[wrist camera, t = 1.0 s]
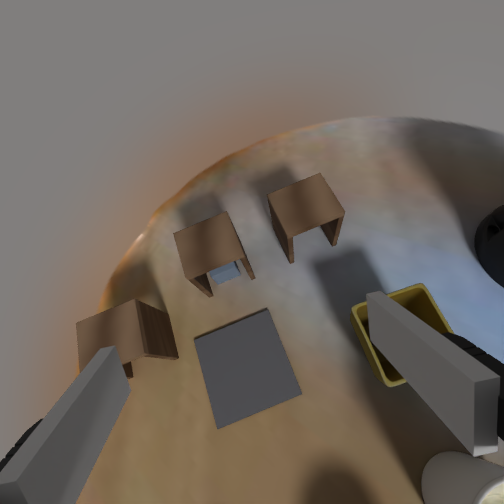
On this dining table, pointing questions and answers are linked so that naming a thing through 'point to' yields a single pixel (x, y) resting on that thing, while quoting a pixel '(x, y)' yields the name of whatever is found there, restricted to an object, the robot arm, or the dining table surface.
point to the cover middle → (209, 249)
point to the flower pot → (416, 303)
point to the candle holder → (462, 480)
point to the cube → (225, 272)
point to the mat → (245, 369)
